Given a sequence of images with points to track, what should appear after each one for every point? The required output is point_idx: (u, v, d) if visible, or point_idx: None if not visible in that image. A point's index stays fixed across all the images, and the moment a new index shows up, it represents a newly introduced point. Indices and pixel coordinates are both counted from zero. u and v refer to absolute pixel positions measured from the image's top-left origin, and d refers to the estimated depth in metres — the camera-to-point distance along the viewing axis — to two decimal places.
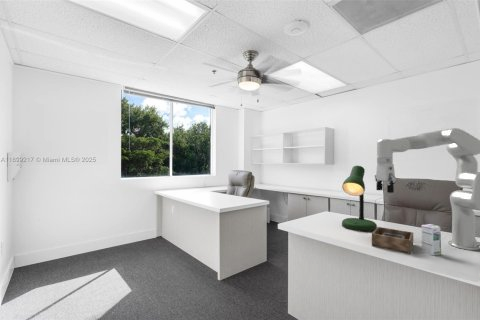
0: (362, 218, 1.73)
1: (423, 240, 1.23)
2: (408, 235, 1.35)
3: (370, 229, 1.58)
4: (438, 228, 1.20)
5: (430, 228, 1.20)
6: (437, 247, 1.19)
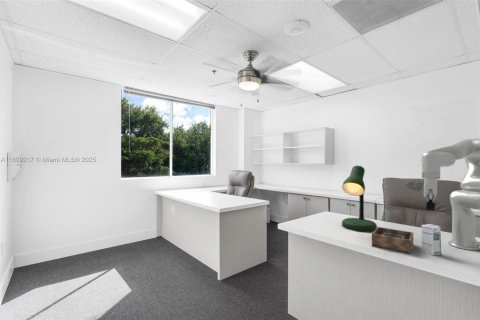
0: (362, 218, 1.73)
1: (423, 240, 1.23)
2: (408, 235, 1.35)
3: (370, 229, 1.58)
4: (438, 228, 1.20)
5: (430, 228, 1.20)
6: (437, 247, 1.19)
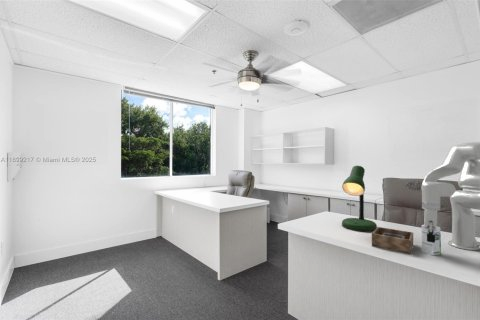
0: (362, 218, 1.73)
1: (423, 240, 1.23)
2: (408, 235, 1.35)
3: (370, 229, 1.58)
4: (438, 228, 1.20)
5: None
6: (437, 247, 1.19)
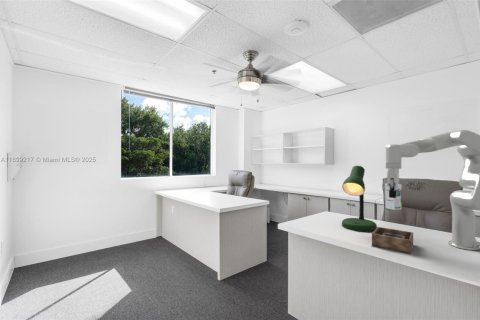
0: (362, 218, 1.73)
1: (386, 197, 1.34)
2: (408, 235, 1.35)
3: (370, 229, 1.58)
4: (399, 185, 1.31)
5: None
6: (398, 202, 1.30)
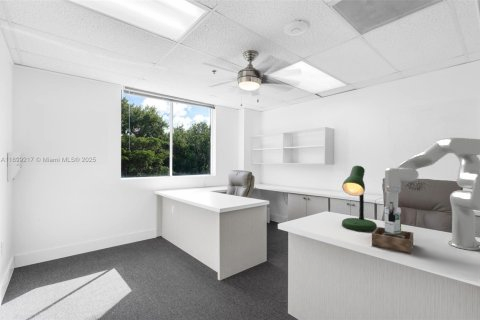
0: (362, 218, 1.73)
1: (386, 220, 1.34)
2: (408, 235, 1.35)
3: (370, 229, 1.58)
4: (398, 209, 1.31)
5: None
6: (397, 226, 1.30)
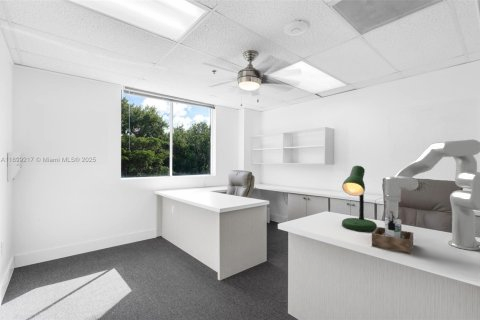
0: (362, 218, 1.73)
1: (386, 232, 1.34)
2: (408, 235, 1.35)
3: (370, 229, 1.58)
4: (399, 221, 1.31)
5: None
6: None
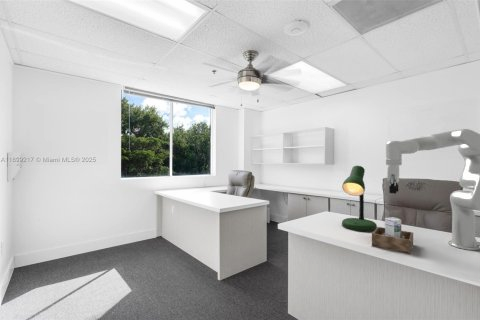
0: (362, 218, 1.73)
1: (386, 232, 1.34)
2: (408, 235, 1.35)
3: (370, 229, 1.58)
4: (399, 221, 1.31)
5: (391, 221, 1.31)
6: None
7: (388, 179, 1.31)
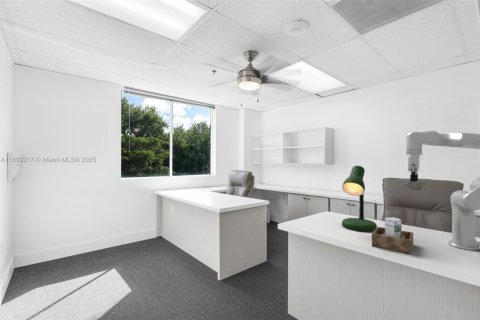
0: (362, 218, 1.73)
1: (386, 232, 1.34)
2: (408, 235, 1.35)
3: (370, 229, 1.58)
4: (399, 221, 1.31)
5: (391, 221, 1.31)
6: None
7: (409, 168, 1.37)
